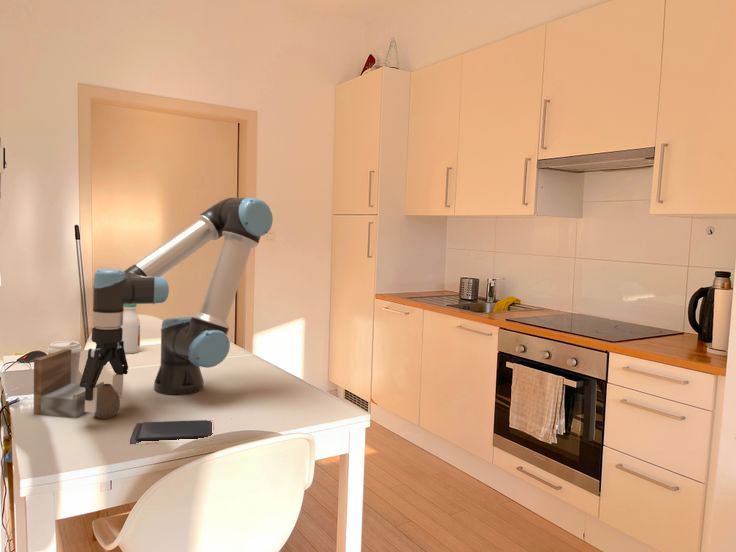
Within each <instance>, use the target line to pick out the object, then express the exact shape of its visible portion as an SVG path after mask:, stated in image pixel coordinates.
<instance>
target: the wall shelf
mask: <svg viewBox="0 0 736 552" xmlns="http://www.w3.org/2000/svg"><path fill="white" fill-rule="evenodd" d="M102 384H105V382H104V381H98V382H97V383H96V386H95V387H97V391H98V390H99V389H100V388H101V385H102ZM86 413H87V412H85V388H83V387H80V383H77V384H75V383H71V349H63V350H60V351H57V352H54V353H51V354H45V355H43V356H40V357H37V358H34V359H33V415H41V416H50V417H51V416H52V417H62V418H63V417H65V418H72V419H73V418H75V419H76V418H79V417H81V416H83V415H84V414H86Z"/></svg>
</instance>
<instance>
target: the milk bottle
mask: <svg viewBox="0 0 736 552" xmlns="http://www.w3.org/2000/svg"><path fill="white" fill-rule="evenodd" d="M137 306H138V304H124V311H123V325H122V326H121V327H122V329H123V333H122V341H124V351H125V355H126V354H138V353H140V348H141V347H140V345H141V322H140V321H141V320H140V318H139V316H138V314H137Z"/></svg>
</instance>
